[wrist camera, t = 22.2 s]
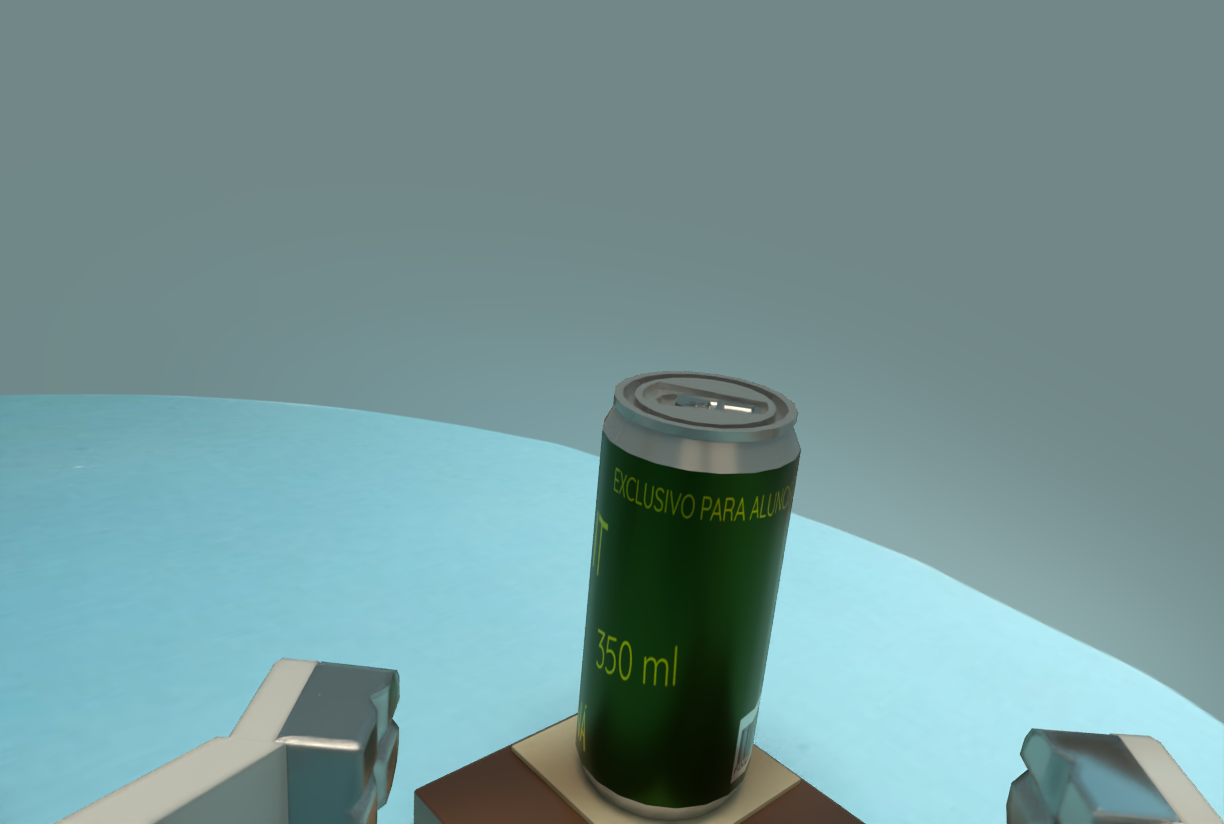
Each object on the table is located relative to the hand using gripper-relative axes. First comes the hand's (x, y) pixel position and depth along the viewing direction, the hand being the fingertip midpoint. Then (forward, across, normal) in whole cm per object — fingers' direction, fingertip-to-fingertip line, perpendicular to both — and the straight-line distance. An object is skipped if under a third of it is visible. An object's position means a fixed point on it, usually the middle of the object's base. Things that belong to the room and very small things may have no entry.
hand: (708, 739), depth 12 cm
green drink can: (+14, -1, +12) cm, 19 cm away
